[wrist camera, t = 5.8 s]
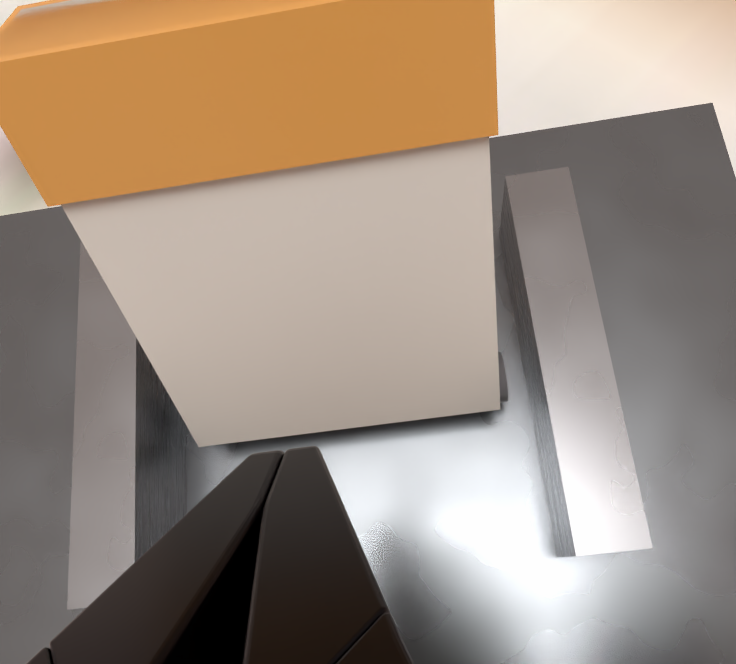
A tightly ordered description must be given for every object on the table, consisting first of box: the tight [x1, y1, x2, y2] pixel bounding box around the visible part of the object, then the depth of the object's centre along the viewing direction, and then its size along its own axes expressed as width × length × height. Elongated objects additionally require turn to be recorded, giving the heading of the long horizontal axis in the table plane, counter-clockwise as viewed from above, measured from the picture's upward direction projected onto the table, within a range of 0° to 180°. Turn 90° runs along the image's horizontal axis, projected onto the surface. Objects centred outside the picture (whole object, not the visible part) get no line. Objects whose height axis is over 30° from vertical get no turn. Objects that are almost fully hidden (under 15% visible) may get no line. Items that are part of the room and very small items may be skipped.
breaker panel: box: [0, 103, 736, 664], centre depth 15 cm, size 12×18×6 cm, turn 96°
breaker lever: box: [0, 0, 508, 447], centre depth 12 cm, size 2×6×8 cm, turn 97°
